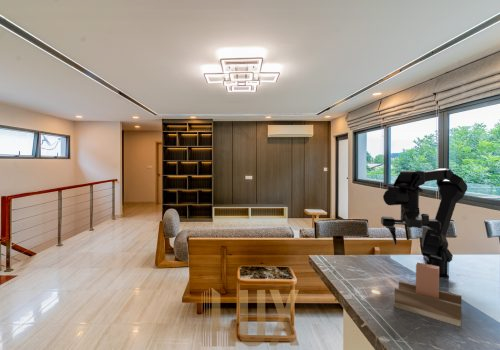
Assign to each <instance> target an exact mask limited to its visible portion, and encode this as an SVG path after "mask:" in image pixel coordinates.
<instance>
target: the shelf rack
mask: <svg viewBox="0 0 500 350" xmlns="http://www.w3.org/2000/svg"><path fill="white" fill-rule="evenodd" d="M393 298H394V300H393V307H394V308H397V309H400V310H404V311H406V312H410V313H414V314H416V315H419V316H424V317H426V318H430V319H434V320H437V321H441V322H444V323H448V324H451V325H454V326H457V327H462V304H463V302H462V299H463V298H462V295H460V294H456V293H451V292H447V291H442V290H440V289H439V299H437V298H433V297H429V296H425V295H421V294H417V293H416V283H415V284H414V283H409V282H406V281H401V280H399V281H398V288H396V287H395V288H394V297H393Z"/></svg>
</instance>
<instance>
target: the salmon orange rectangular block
mask: <svg viewBox="0 0 500 350" xmlns="http://www.w3.org/2000/svg"><path fill="white" fill-rule="evenodd" d="M415 285H416V293H417V294H421V295H425V296H429V297H433V298H437V299H439V290H440V276H439V266H434V265H428V264H425V263H424V262H423V263H421V262H417V263H416V264H415Z"/></svg>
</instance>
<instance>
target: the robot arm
mask: <svg viewBox="0 0 500 350" xmlns="http://www.w3.org/2000/svg"><path fill="white" fill-rule="evenodd" d="M431 181H436V182H435V184H436V185H437V187H438V188H439V189H438V192H439V195H440V198H441V199H440V203H439V205H438V208H437V212H436V214H435V217H434V218H430V215H429V214H428V213H420V206H419V204H420V200H419V199H420V193H423V192H424V190H423V189H422V188H421V187H420V186H422V185H425V184H426V183H427V182H431ZM467 191H468V185H467V183H466V181H464V179H463V178H462V177H461V176H459V175H457V174H455V173H454V172H453V171H452V169H449V168H437V169H436V168H435V169H431V170H423V171H421V170H401V171H400V172H399V174H398V176H397V177H396V179H395V181H394V183H393V184H392V186H388V189H387V190H386V191H385V192H384V193H383V196H382V197H383V198H382V199H383V201H384V203H385V204H386V205H388V206H400V219H398V218H397V219H395V218H394V217H392V216H381V217H380V224H381V225H382V226H383V227H385V228H386V229H388V230H389V233H390V235H391V238H392V241H393V244H394V245H395V246H396V245H397V234H396V228H397V227H395V225H402V226H403V225H404V226H406V227H408V228H418V229H422V235H421V237H422V238H421V240H420V245H419V247H420V250H421V254H422V256H426V257H427V259H425V260H424V264H428V265H434V266H439V277H442V278H443V277H444V278H449V277H450V276H449V274H448V263H451V261H453V257H454V255H453V254H452V252H451V251H450V250H449V242H448V239H447V237H446V236H447V233H448V230H449V227H450V223H451V220H452V216H453V214H454V211H455V208H456V204H457V202H458V203H459V201H461V200H462V199H463V198H464V196H465V194H466V192H467Z"/></svg>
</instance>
